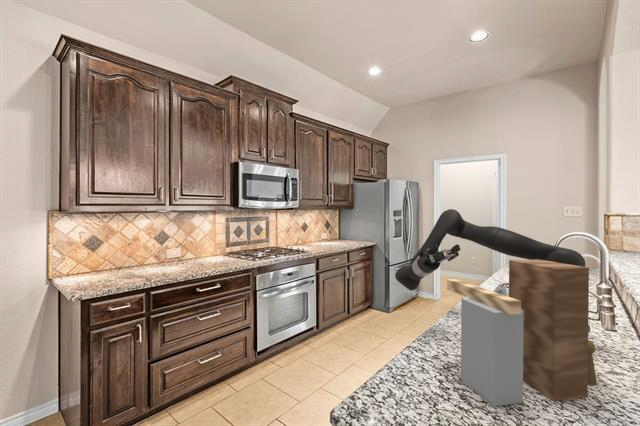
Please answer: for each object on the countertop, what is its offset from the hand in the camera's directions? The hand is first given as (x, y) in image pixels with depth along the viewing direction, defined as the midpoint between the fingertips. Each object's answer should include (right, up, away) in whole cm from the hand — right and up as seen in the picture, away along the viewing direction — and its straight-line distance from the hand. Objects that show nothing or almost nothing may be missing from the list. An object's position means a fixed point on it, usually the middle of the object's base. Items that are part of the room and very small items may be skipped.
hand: (448, 247), depth 108 cm
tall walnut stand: (+16, -34, -25) cm, 45 cm away
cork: (+27, -34, -23) cm, 49 cm away
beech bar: (-2, -11, -24) cm, 27 cm away
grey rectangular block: (-1, -33, -29) cm, 44 cm away
